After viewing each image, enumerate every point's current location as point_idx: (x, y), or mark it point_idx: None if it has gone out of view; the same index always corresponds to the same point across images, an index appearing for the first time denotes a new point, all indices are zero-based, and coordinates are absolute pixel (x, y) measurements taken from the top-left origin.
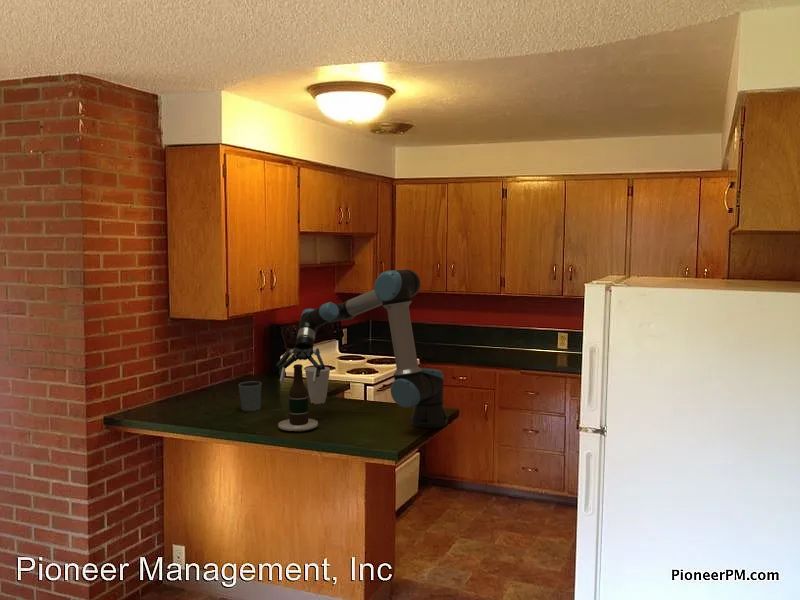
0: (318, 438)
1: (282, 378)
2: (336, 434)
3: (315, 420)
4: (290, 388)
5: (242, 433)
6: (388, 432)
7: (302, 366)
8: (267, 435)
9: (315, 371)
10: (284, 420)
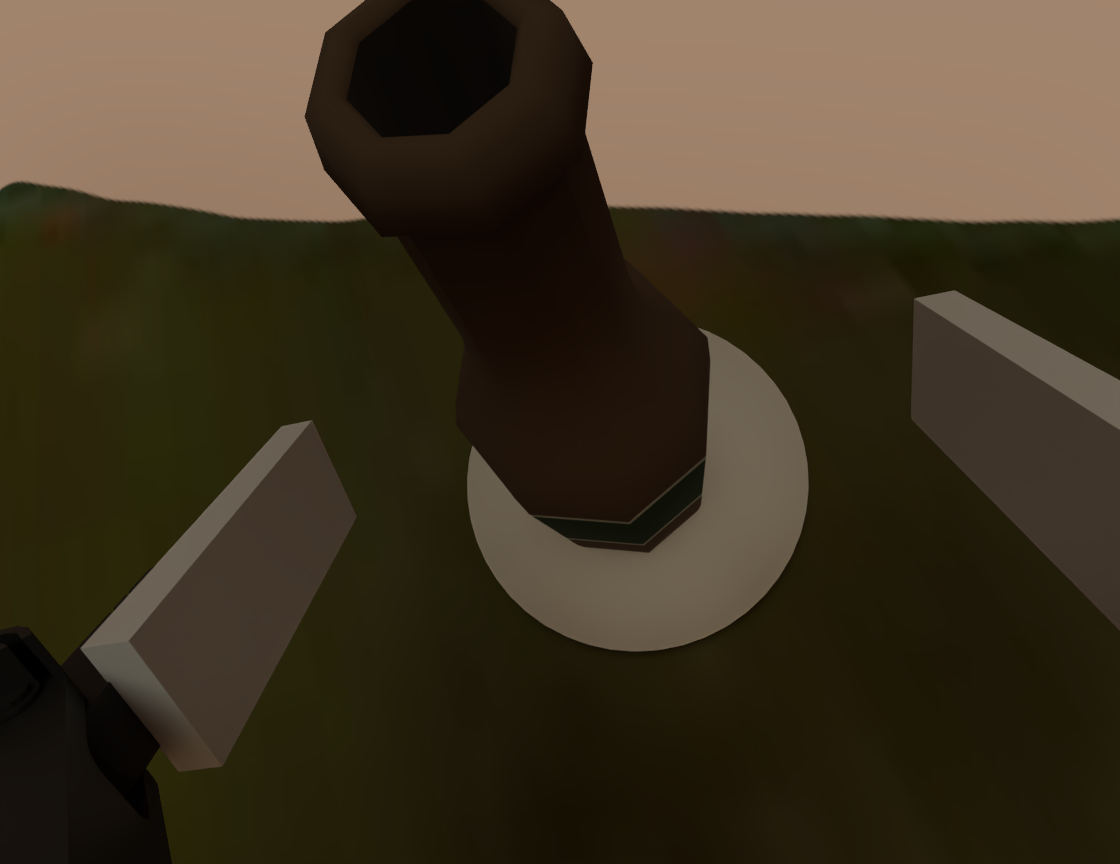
0: (404, 286)
1: (949, 352)
2: (315, 399)
3: (515, 593)
4: (685, 317)
5: (998, 228)
6: (11, 531)
7: (317, 143)
8: (771, 243)
9: (174, 558)
10: (792, 528)
